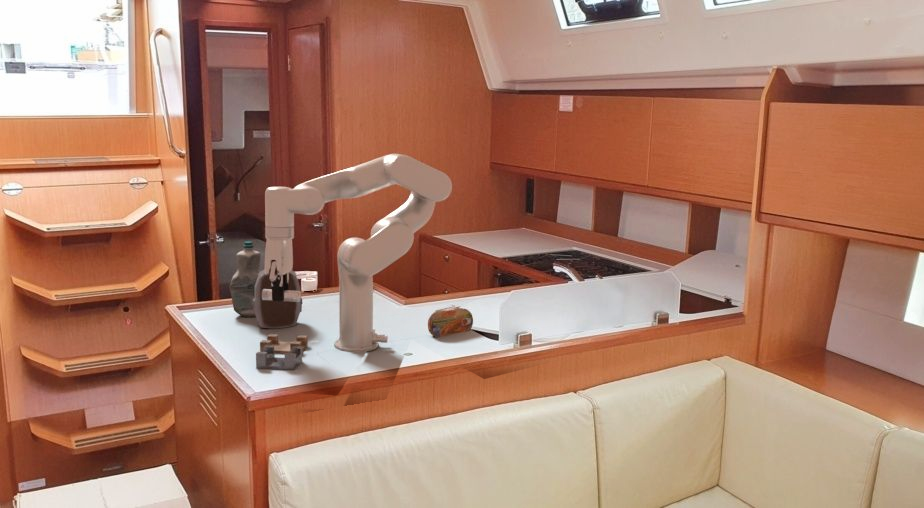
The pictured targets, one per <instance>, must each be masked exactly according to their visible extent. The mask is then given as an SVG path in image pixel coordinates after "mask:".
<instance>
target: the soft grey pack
mask: <svg viewBox="0 0 924 508" xmlns="http://www.w3.org/2000/svg"><path fill="white" fill-rule="evenodd" d="M295 272H296V271H294V270H293V269H292V270H291V271H290V272H289V283H287V284H289V290H291V291H300V292H301V285H300V283H299V279H297V276H298V275H296V273H295ZM276 275H278V273H276ZM269 278H270V275H266V274H265V268H264V269H262V270H261V272H260V273H259V274H258V278H257V281H256V284H255V298H254V299H253V311H254V314H255V315H256V316H255V318H256V322H257V323H258V327H260V328H263V329H283V328H290V327H294V326H297V323H298V319H299V316H300V313H301V312H302V311H303V309H302V308H303V306H302V305H303V298H302V297H301V298H300V301H299V302H290V301H272V300H262V291H263V289H272V286H271V280H270V279H269ZM277 278H278V277H277Z"/></svg>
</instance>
